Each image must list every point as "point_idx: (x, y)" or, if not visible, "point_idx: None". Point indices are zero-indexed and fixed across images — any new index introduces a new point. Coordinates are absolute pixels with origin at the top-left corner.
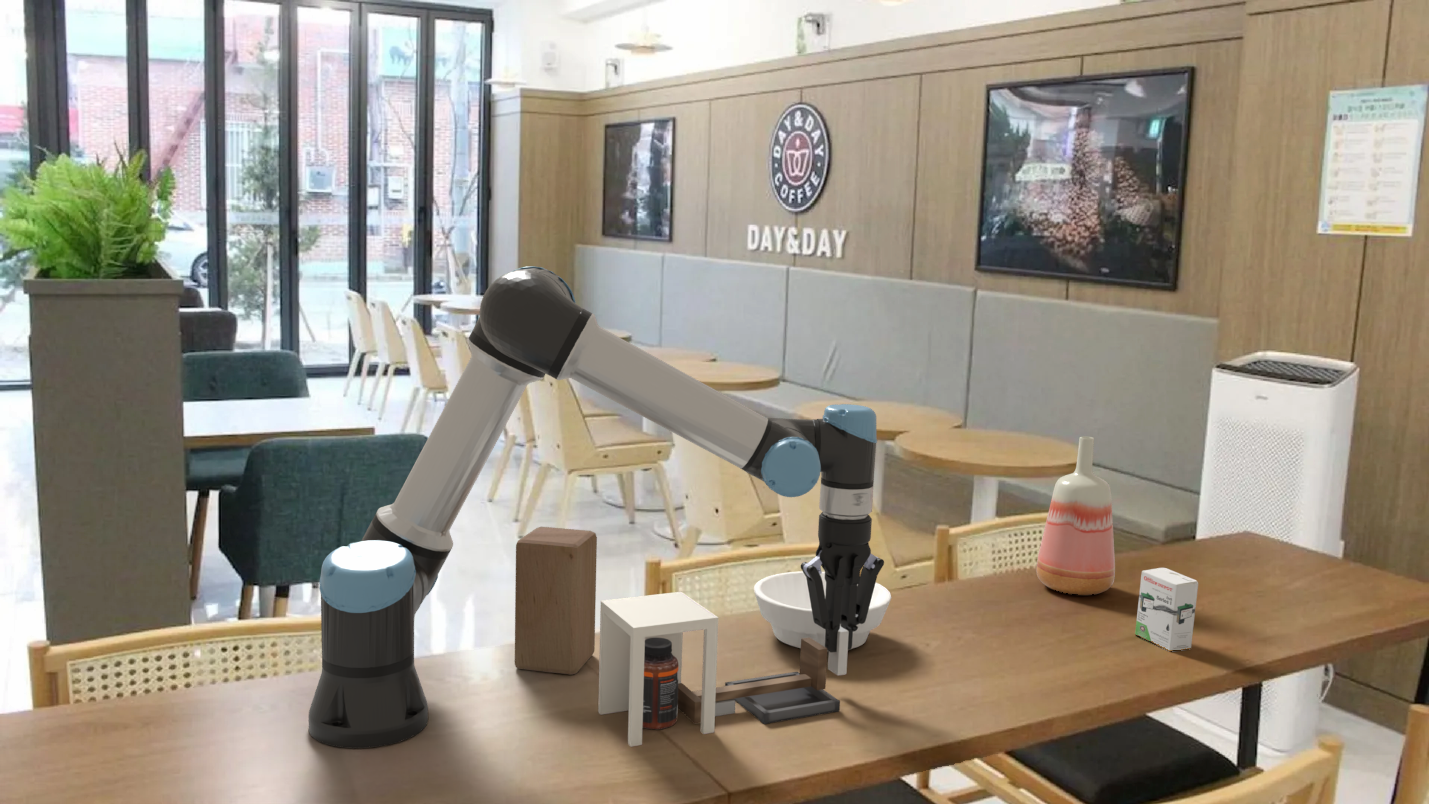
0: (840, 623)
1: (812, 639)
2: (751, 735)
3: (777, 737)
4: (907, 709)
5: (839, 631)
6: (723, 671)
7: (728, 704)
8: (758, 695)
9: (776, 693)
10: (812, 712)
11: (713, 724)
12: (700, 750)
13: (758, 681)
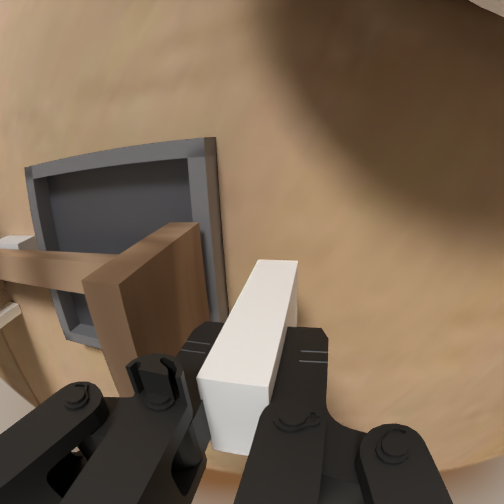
0: (269, 411)
1: (124, 315)
2: (60, 347)
3: (91, 371)
4: (386, 398)
5: (216, 443)
6: (75, 36)
7: None
8: (83, 215)
9: (121, 218)
10: None
11: (12, 318)
12: (15, 342)
13: (45, 260)
